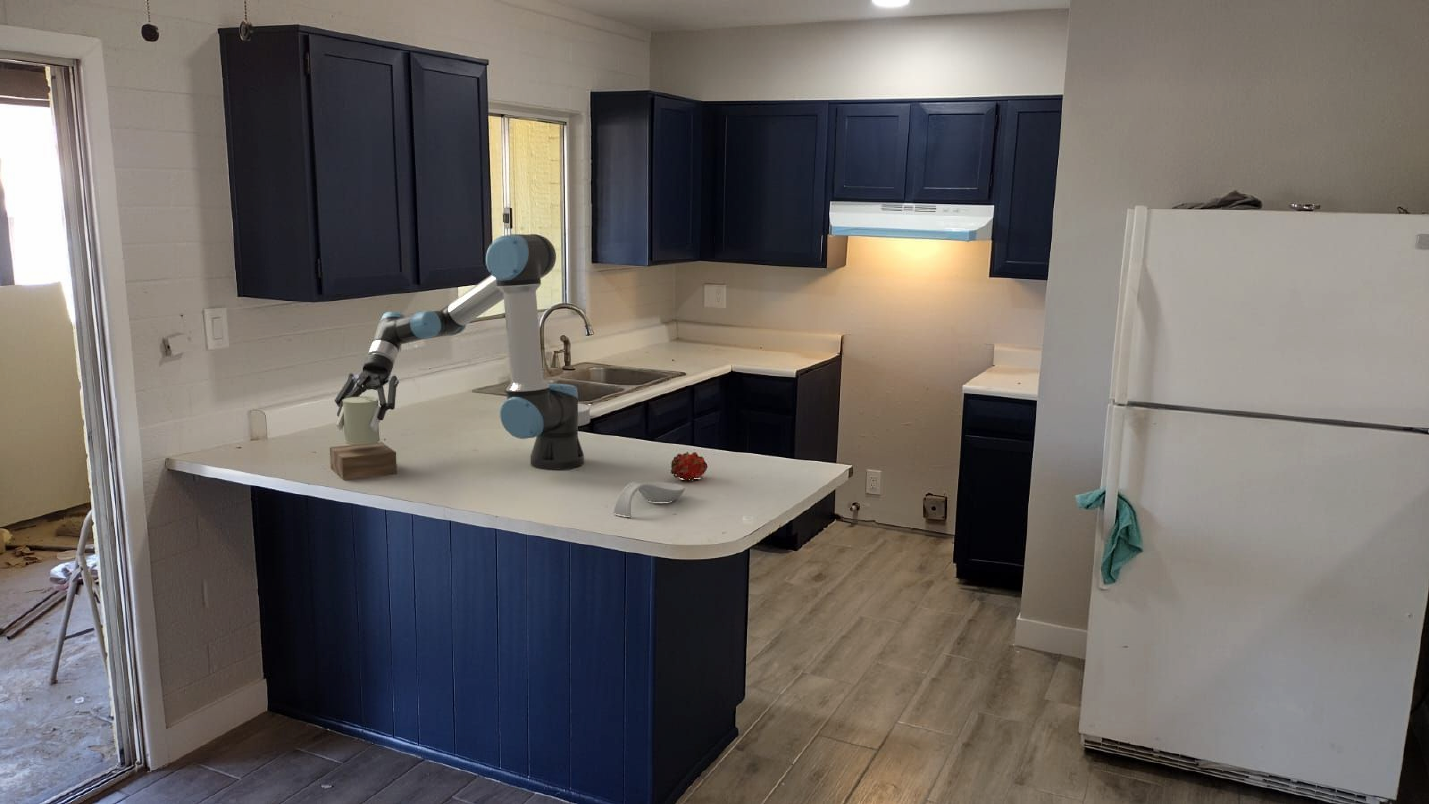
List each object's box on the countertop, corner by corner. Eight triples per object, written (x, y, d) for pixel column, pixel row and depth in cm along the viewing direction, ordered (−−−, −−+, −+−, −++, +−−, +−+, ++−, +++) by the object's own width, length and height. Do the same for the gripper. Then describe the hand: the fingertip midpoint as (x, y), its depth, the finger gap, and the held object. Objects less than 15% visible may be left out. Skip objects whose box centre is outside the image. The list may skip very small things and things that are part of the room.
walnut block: (396, 473, 276) (396, 452, 274) (343, 480, 268) (342, 457, 267) (382, 462, 287) (381, 442, 286) (330, 468, 280) (329, 447, 278)
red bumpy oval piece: (666, 488, 274) (702, 488, 281) (683, 475, 268) (719, 476, 275) (660, 459, 277) (695, 460, 284) (676, 446, 271) (712, 447, 278)
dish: (541, 431, 335) (540, 416, 334) (514, 419, 353) (514, 405, 352) (601, 424, 347) (601, 410, 346) (573, 413, 365) (573, 399, 364)
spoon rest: (653, 492, 264) (653, 465, 263) (692, 499, 259) (693, 471, 258) (601, 514, 244) (601, 485, 243) (643, 522, 238) (643, 493, 237)
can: (368, 446, 271) (367, 401, 269) (337, 443, 273) (335, 399, 270) (386, 438, 280) (385, 395, 277) (355, 436, 281) (354, 393, 279)
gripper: (421, 370, 287) (399, 437, 274) (348, 367, 289) (323, 433, 276) (413, 354, 280) (389, 422, 268) (338, 350, 283) (312, 418, 270)
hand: (355, 428), depth 272 cm, fingers closed on can, 9 cm apart
